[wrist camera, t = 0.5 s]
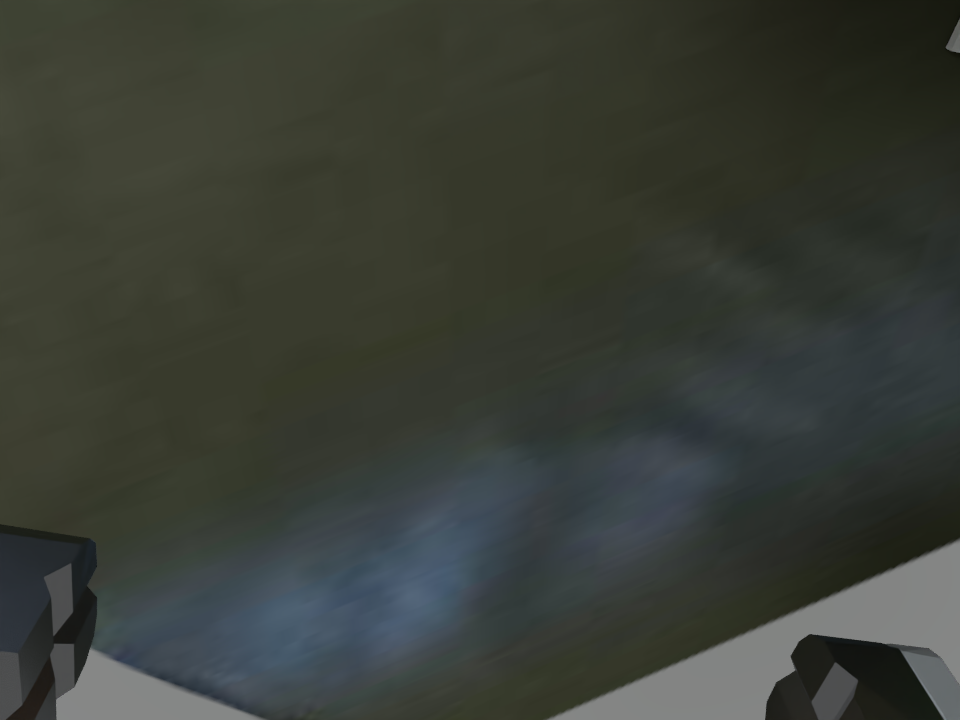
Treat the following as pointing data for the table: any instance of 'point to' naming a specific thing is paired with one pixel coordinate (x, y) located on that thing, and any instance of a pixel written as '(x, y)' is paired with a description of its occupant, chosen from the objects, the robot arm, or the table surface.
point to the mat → (955, 40)
